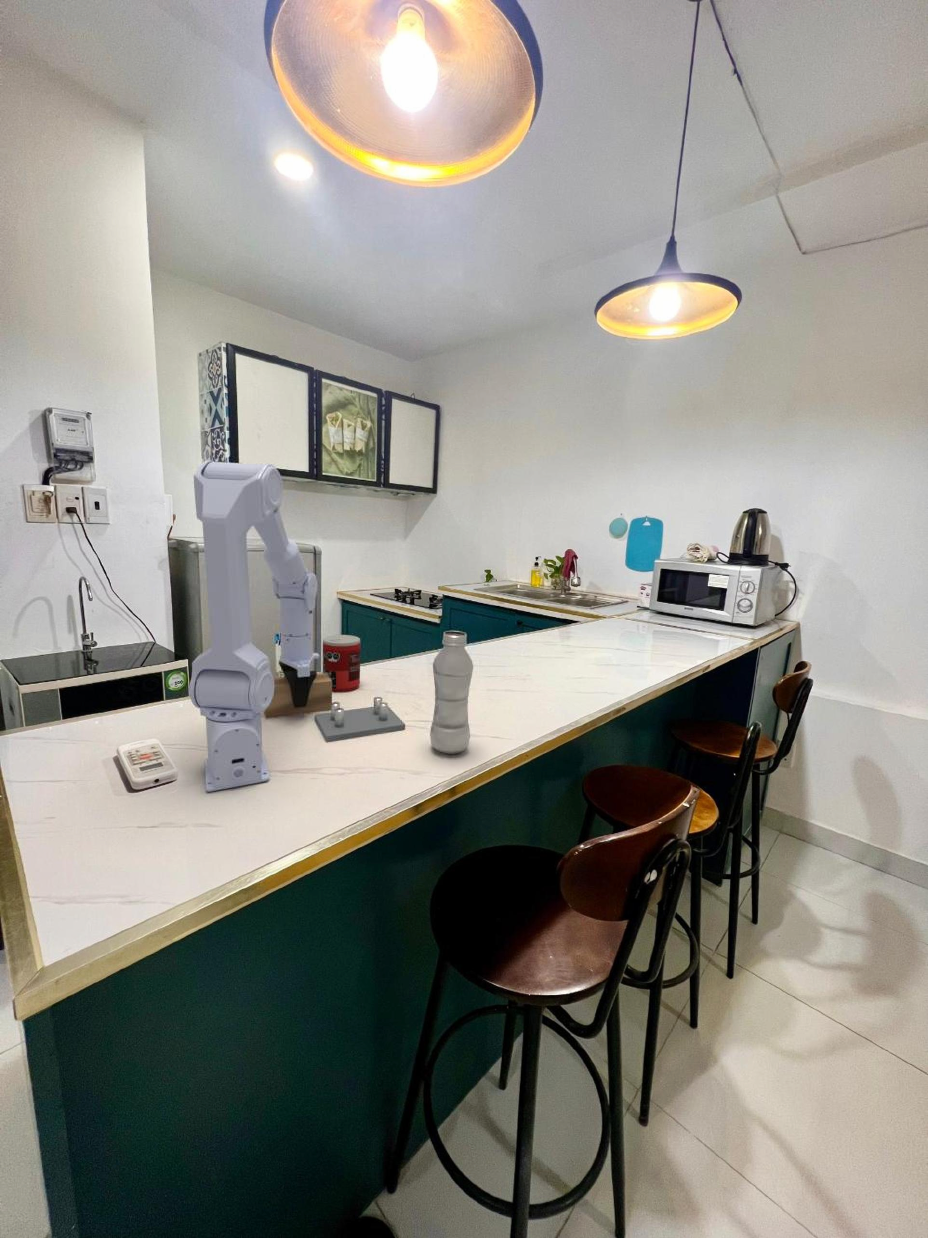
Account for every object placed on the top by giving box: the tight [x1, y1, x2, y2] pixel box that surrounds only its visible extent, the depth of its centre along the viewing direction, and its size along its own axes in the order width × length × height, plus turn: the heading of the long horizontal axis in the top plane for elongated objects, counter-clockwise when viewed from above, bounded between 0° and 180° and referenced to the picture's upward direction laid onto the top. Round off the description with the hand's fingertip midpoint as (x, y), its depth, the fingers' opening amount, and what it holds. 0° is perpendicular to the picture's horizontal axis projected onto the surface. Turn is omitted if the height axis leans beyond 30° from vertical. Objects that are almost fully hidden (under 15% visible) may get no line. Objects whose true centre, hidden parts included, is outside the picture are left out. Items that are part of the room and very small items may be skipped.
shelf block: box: [263, 673, 333, 719], centre depth 94 cm, size 5×12×6 cm, turn 118°
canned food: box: [322, 634, 361, 693], centre depth 107 cm, size 8×8×11 cm
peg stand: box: [314, 696, 406, 743], centre depth 89 cm, size 10×14×4 cm
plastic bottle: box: [429, 630, 474, 755], centre depth 80 cm, size 6×7×20 cm
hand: (297, 701), depth 94 cm, fingers closed on shelf block, 5 cm apart
